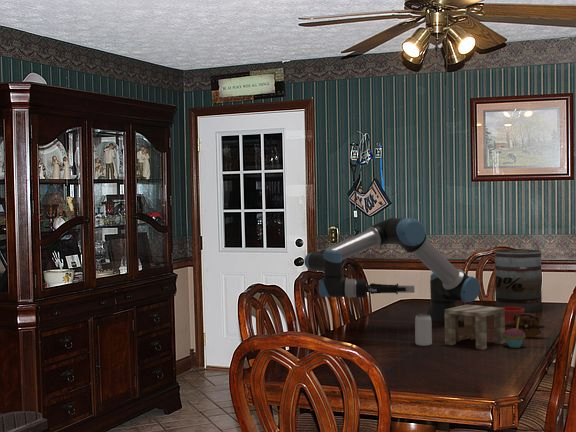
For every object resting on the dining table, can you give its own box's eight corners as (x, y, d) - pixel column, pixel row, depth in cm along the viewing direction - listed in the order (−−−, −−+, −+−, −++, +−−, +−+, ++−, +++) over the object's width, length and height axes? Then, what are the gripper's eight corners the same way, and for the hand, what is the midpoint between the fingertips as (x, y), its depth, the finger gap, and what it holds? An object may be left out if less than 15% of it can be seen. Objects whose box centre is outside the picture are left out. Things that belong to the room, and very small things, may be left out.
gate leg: (457, 342, 315) (457, 313, 315) (450, 341, 318) (450, 312, 318) (476, 338, 324) (476, 309, 323) (469, 337, 326) (469, 308, 326)
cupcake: (526, 345, 310) (525, 314, 309) (525, 349, 302) (524, 318, 301) (503, 344, 312) (503, 314, 312) (502, 348, 304) (501, 317, 304)
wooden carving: (503, 337, 326) (503, 313, 326) (504, 335, 330) (504, 312, 330) (545, 339, 320) (545, 315, 320) (545, 337, 325) (545, 313, 324)
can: (413, 343, 318) (413, 313, 318) (429, 342, 319) (428, 313, 318) (417, 346, 312) (417, 316, 311) (433, 345, 312) (433, 315, 312)
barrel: (488, 307, 408) (487, 250, 408) (529, 305, 412) (528, 248, 411) (507, 314, 386) (506, 253, 385) (549, 312, 390) (549, 251, 389)
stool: (445, 344, 314) (444, 309, 314) (467, 338, 327) (467, 304, 326) (482, 349, 303) (482, 313, 302) (504, 342, 315) (504, 308, 314)
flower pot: (525, 332, 335) (525, 310, 335) (499, 332, 338) (498, 310, 337) (523, 328, 346) (523, 306, 345) (497, 328, 348) (497, 306, 348)
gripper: (358, 295, 330) (415, 296, 325) (354, 299, 317) (413, 300, 312) (358, 277, 330) (415, 278, 325) (354, 281, 317) (413, 281, 312)
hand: (414, 289), depth 319 cm, fingers closed
